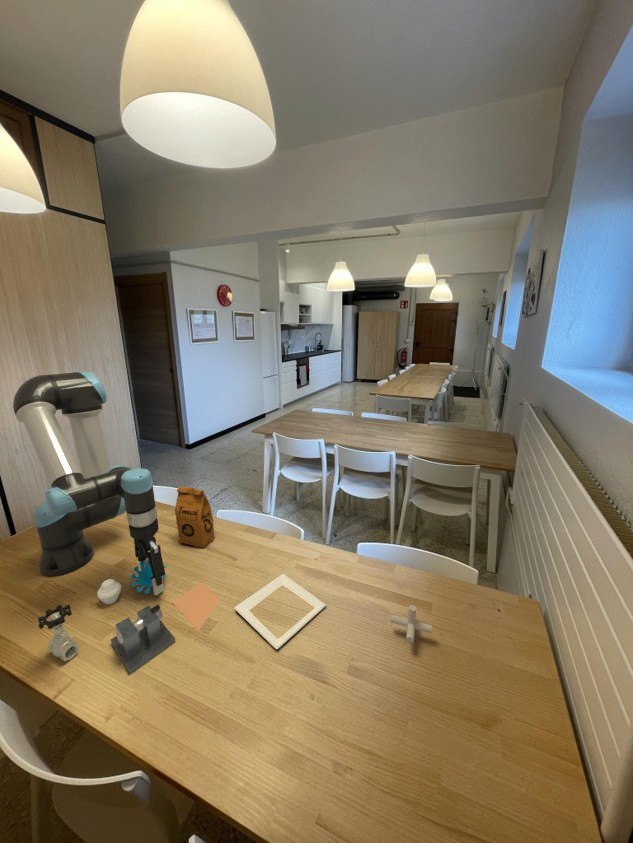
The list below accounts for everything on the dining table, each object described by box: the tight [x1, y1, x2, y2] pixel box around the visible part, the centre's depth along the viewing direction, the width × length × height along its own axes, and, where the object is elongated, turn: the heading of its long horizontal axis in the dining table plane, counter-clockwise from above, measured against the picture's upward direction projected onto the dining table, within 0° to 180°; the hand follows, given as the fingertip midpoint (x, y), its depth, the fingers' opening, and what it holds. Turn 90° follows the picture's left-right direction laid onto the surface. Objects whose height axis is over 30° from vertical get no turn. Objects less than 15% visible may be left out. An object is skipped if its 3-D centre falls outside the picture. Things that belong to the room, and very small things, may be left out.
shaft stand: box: [110, 604, 176, 675], centre depth 83 cm, size 12×11×8 cm
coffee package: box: [174, 486, 215, 548], centre depth 123 cm, size 10×12×22 cm
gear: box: [130, 561, 168, 595], centre depth 102 cm, size 11×6×10 cm
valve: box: [37, 604, 80, 662], centre depth 80 cm, size 7×7×12 cm
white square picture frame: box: [234, 573, 327, 650], centre depth 94 cm, size 19×19×2 cm
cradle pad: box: [171, 582, 221, 632], centre depth 96 cm, size 15×10×1 cm, turn 49°
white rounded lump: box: [96, 578, 122, 605], centre depth 97 cm, size 6×6×7 cm
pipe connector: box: [390, 604, 433, 644], centre depth 84 cm, size 10×10×10 cm
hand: (153, 585), depth 102 cm, fingers closed on gear, 8 cm apart
